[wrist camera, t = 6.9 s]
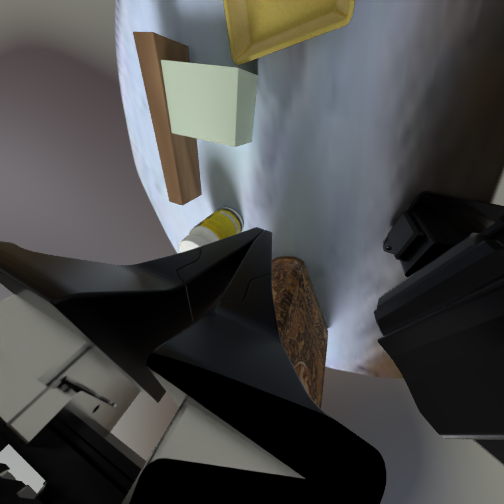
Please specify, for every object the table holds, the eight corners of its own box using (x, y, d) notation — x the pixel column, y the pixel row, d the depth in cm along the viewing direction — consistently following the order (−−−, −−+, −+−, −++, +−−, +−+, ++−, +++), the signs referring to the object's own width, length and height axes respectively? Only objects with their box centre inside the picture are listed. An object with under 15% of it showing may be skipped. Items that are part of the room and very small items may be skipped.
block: (258, 75, 16) (238, 67, 13) (252, 141, 19) (234, 146, 16) (192, 68, 17) (160, 59, 15) (196, 130, 21) (171, 133, 18)
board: (187, 46, 16) (152, 32, 13) (201, 194, 25) (182, 205, 22) (170, 45, 17) (132, 31, 14) (189, 191, 26) (169, 201, 23)
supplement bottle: (221, 199, 25) (179, 228, 18) (249, 219, 25) (216, 255, 18) (211, 223, 28) (173, 255, 22) (236, 241, 28) (205, 277, 22)
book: (266, 258, 27) (103, 544, 9) (301, 254, 24) (161, 664, 6) (298, 327, 34) (240, 570, 16) (328, 330, 31) (299, 633, 13)
